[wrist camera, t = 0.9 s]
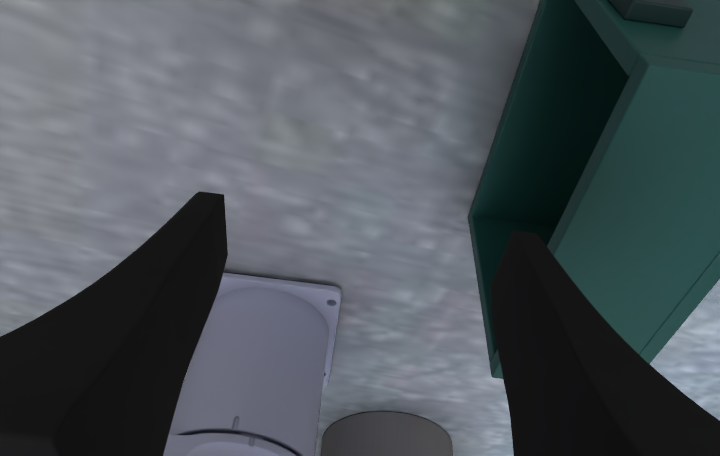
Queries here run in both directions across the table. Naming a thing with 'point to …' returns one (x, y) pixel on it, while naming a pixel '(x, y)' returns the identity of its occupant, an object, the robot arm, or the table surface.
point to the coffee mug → (385, 436)
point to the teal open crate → (612, 161)
